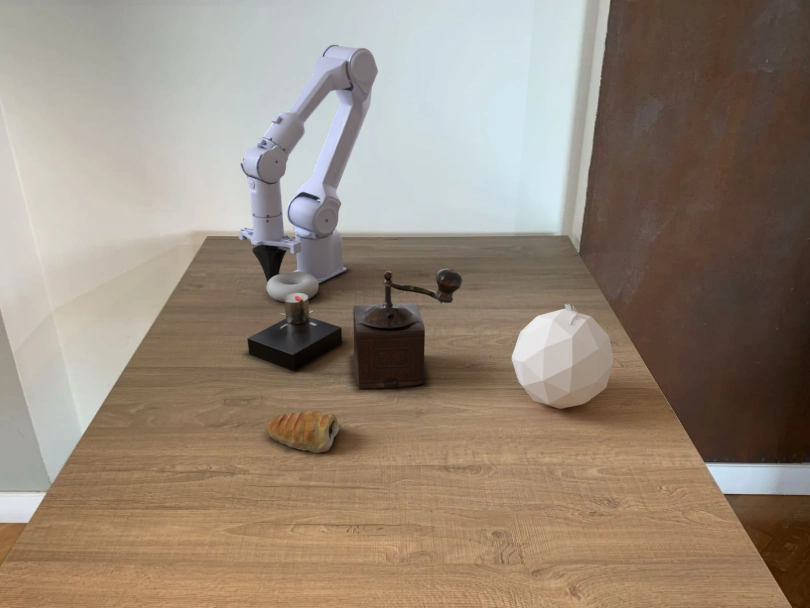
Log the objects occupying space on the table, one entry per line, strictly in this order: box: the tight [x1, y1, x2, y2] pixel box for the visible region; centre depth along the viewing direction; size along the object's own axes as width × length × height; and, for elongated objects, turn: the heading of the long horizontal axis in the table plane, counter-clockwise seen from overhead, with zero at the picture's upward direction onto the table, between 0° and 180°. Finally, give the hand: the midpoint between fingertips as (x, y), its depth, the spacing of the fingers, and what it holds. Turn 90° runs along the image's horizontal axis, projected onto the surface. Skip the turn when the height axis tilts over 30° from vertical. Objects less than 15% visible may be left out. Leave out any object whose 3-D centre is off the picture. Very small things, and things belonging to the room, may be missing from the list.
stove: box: [246, 310, 343, 372], centre depth 124 cm, size 14×12×3 cm
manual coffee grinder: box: [352, 268, 463, 390], centre depth 112 cm, size 16×11×18 cm
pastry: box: [266, 409, 340, 454], centre depth 99 cm, size 9×7×4 cm
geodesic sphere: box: [511, 303, 615, 410], centre depth 105 cm, size 15×14×14 cm
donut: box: [265, 271, 320, 303], centre depth 142 cm, size 10×4×10 cm
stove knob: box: [283, 293, 310, 324], centre depth 125 cm, size 4×4×4 cm
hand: (272, 280), depth 146 cm, fingers closed
